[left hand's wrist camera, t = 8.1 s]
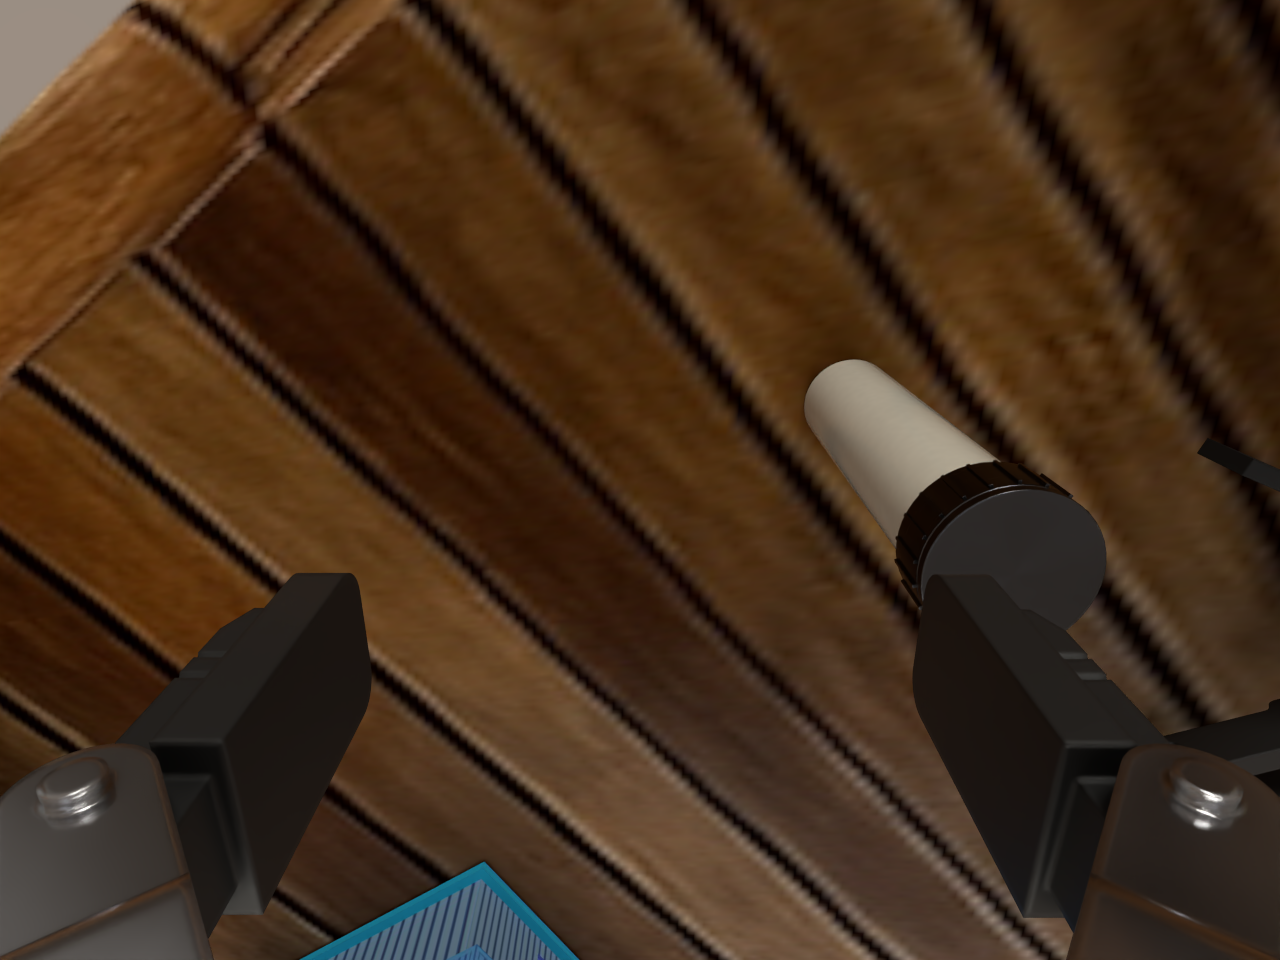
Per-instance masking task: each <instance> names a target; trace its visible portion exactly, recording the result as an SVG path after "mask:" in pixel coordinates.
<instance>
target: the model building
mask: <svg viewBox="0 0 1280 960" xmlns="http://www.w3.org/2000/svg"><path fill="white" fill-rule="evenodd" d="M300 960H579V959H578V958H577V957H576V956H575V955H574V954H573V953H572V952H571V951H570V950H569V949H568V948H567V947H566V945H565V944H564V943H563V942H562V941H561V940H560V939H559V938H558V937H557V936H556V935H555V934H554V933H553V932H552V931H551V930H550V929H549V928H548V927H547V926H546V925H545V924H544V923H543V922H542V921H541V920H540V919H539V918H538V917H537V915H536V914H535V913H534V912H533V911H532V910H531V909H530V908H529V907H528V906H527V905H526V904H525V903H524V902H523V901H522V900H521V899H520V898H519V897H518V896H517V895H516V894H515V893H514V892H513V891H512V890H511V889H510V888H509V887H508V885H507V884H506V883H505V882H504V881H503V880H502V879H501V878H500V877H499V876H498V875H497V874H496V873H495V872H494V871H493V870H492V869H491V868H490V867H489V866H488V865H487V864H486V863H485V862H483V863H481V864H479V865H477V866H475V867H473V868H471V869H470V870H468V871H466V872H464V873H462V874H460V875H458V876H456V877H454V878H453V879H451V880H449V881H447V882H445V883H443V884H441V885H439V886H438V887H436V888H434V889H432V890H430V891H428V892H426V893H424V894H422V895H421V896H419V897H417V898H415V899H413V900H411V901H409V902H407V903H405V904H404V905H402V906H400V907H398V908H396V909H394V910H392V911H390V912H389V913H387V914H385V915H383V916H381V917H379V918H377V919H375V920H373V921H372V922H370V923H368V924H366V925H364V926H362V927H360V928H358V929H356V930H355V931H353V932H351V933H349V934H347V935H345V936H343V937H341V938H340V939H338V940H336V941H334V942H332V943H330V944H328V945H326V946H324V947H323V948H321V949H319V950H317V951H315V952H313V953H311V954H309V955H307V956H306V957H304V958H302V959H300Z"/></svg>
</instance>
